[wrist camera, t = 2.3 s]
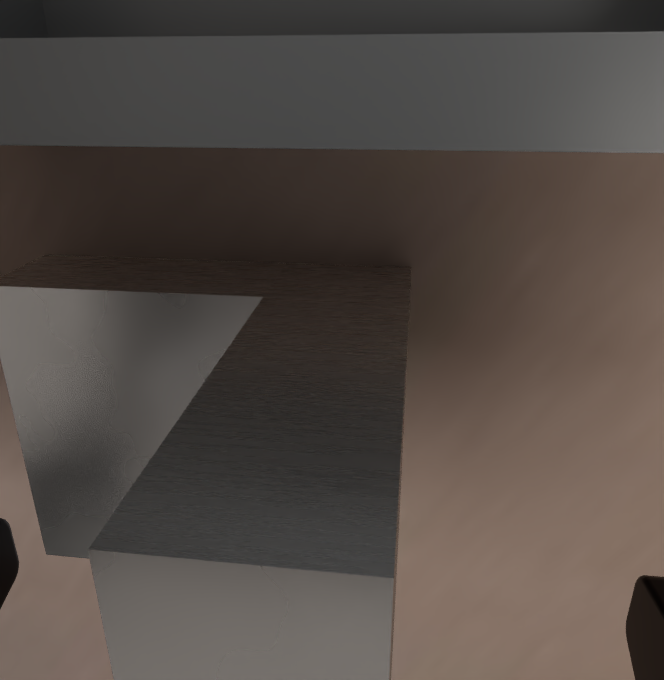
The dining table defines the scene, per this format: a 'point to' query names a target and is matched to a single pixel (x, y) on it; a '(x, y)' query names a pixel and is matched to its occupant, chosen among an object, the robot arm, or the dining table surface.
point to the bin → (334, 74)
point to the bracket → (218, 455)
